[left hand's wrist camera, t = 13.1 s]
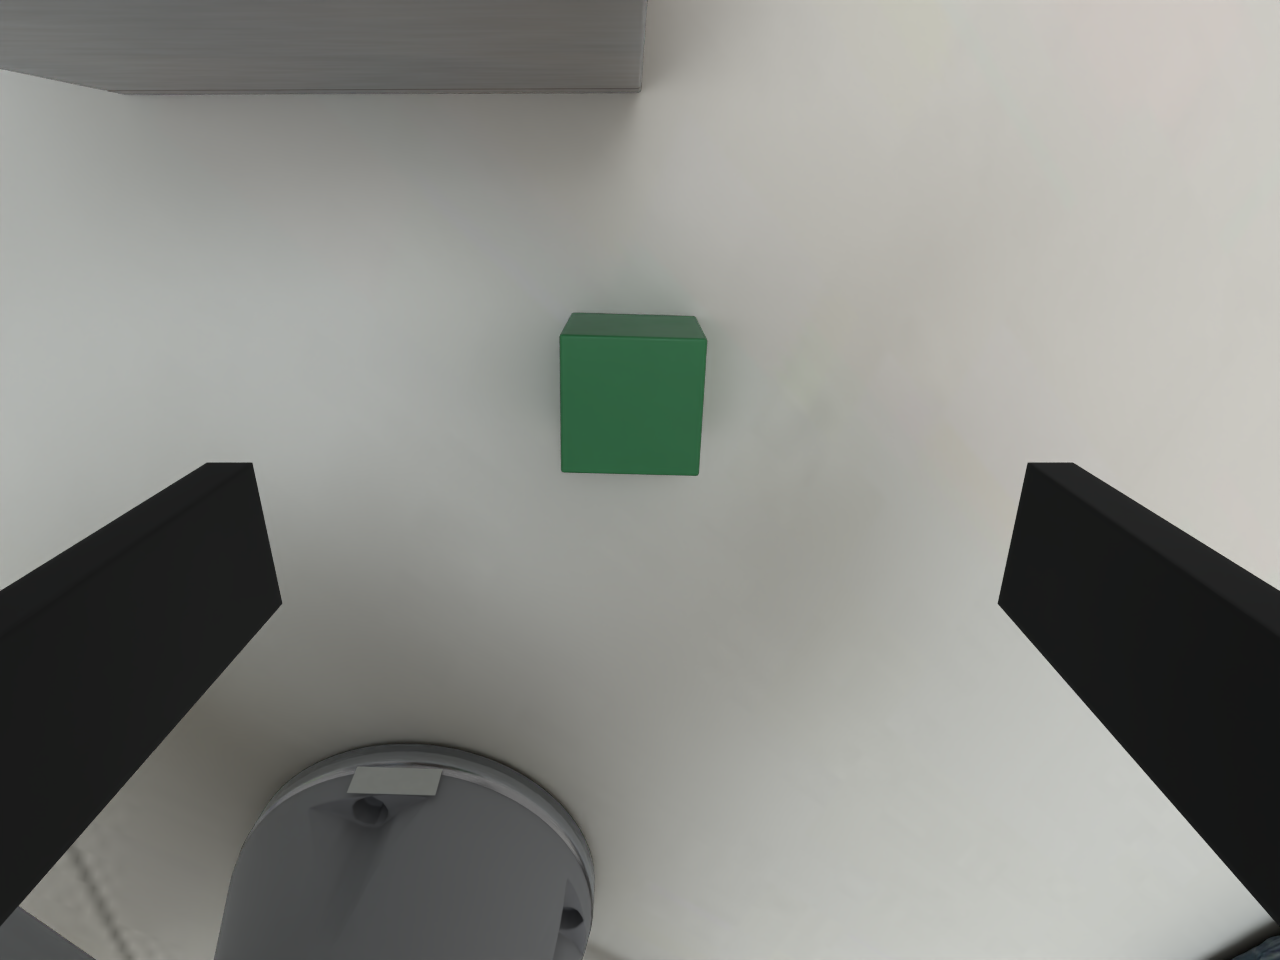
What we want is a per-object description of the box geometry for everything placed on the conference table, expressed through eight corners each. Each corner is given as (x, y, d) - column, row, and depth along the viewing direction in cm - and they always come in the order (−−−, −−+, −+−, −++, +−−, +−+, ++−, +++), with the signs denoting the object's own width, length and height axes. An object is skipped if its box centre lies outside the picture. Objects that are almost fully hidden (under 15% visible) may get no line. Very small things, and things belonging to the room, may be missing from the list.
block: (696, 315, 23) (707, 338, 20) (689, 434, 25) (698, 476, 21) (571, 312, 23) (559, 334, 20) (572, 431, 25) (560, 473, 21)
